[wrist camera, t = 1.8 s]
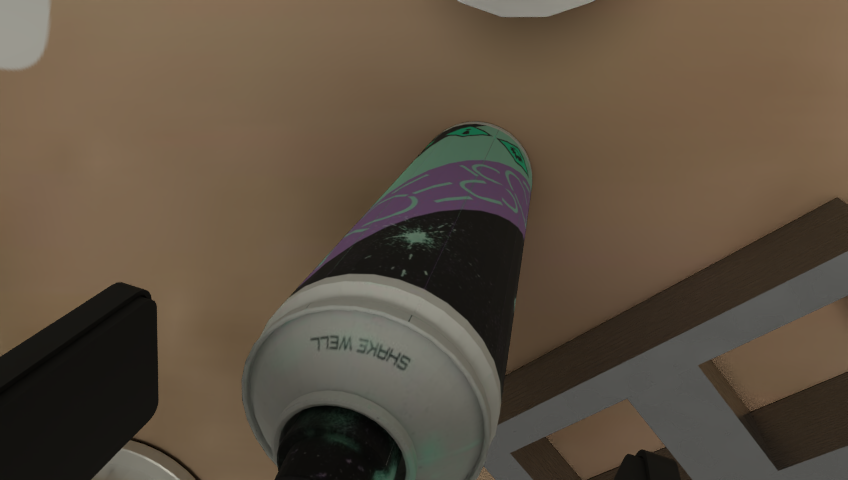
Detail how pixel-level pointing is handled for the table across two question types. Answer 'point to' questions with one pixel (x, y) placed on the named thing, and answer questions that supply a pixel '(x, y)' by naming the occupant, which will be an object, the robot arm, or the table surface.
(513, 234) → the spray can
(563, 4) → the can
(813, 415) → the grey rectangular grid frame
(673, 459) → the robot arm
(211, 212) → the table surface
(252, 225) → the table surface
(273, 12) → the table surface
